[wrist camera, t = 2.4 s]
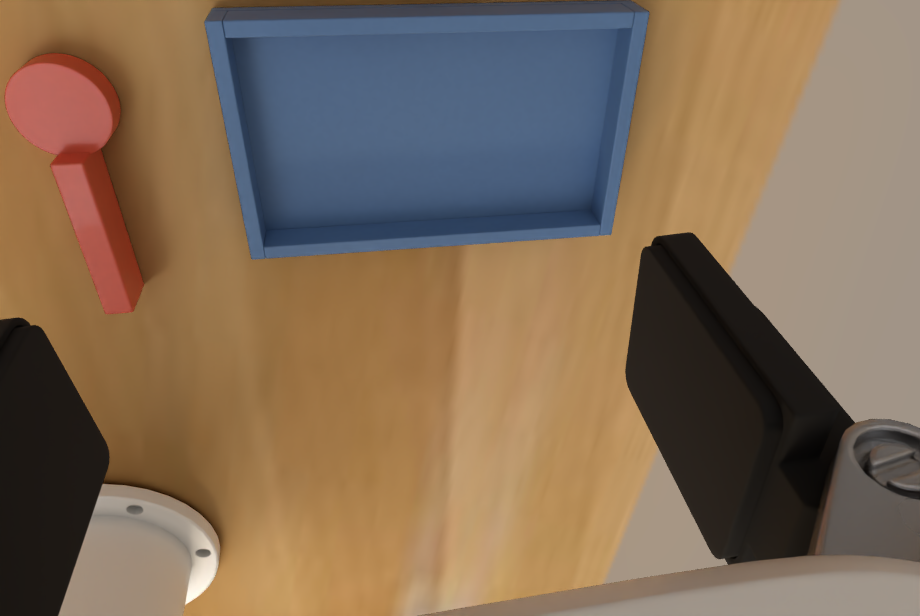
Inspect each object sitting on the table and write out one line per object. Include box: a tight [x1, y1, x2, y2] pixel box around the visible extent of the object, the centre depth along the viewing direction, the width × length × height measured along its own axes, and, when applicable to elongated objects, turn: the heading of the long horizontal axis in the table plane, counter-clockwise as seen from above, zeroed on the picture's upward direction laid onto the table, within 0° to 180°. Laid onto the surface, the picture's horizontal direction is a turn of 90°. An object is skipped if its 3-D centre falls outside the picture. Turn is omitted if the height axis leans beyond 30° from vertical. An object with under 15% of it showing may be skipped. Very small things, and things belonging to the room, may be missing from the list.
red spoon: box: [5, 53, 144, 314], centre depth 27 cm, size 10×4×2 cm, turn 179°
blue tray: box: [204, 0, 649, 259], centre depth 28 cm, size 16×10×2 cm, turn 89°
